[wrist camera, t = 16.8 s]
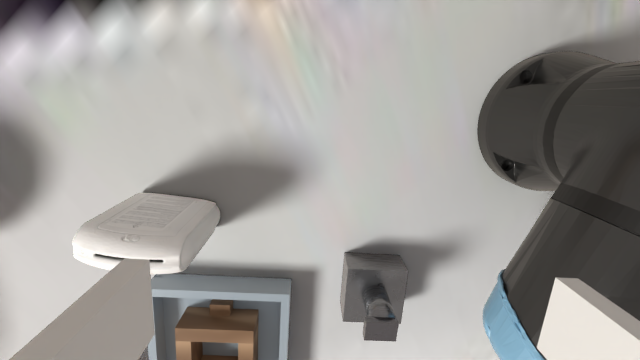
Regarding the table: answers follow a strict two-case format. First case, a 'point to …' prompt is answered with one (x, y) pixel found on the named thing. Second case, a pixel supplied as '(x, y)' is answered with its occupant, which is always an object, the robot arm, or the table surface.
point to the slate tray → (244, 291)
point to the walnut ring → (217, 331)
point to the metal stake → (374, 293)
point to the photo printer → (148, 232)
